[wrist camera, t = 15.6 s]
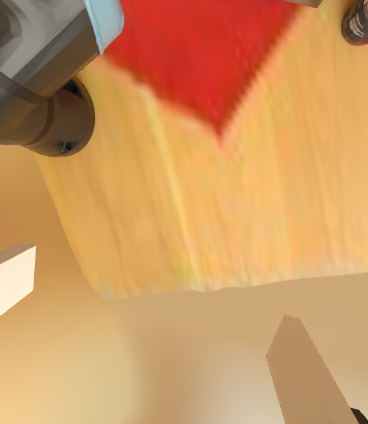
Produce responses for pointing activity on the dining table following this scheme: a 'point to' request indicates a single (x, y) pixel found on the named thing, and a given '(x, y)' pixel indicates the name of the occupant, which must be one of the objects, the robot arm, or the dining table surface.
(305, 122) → the dining table surface
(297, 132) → the dining table surface
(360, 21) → the supplement bottle
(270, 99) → the dining table surface
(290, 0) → the stand
